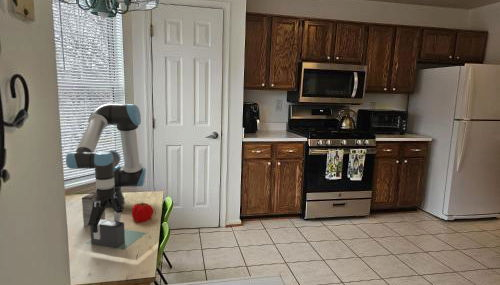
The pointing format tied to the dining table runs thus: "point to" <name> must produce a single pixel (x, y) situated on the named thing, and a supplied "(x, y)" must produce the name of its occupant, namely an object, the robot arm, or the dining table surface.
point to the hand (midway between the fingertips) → (107, 232)
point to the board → (128, 238)
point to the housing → (109, 234)
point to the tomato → (142, 212)
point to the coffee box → (89, 207)
